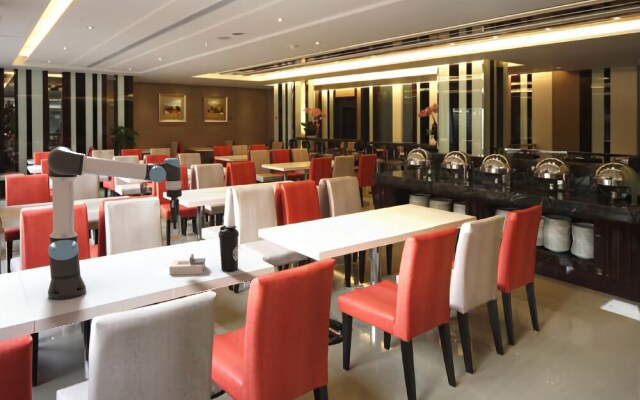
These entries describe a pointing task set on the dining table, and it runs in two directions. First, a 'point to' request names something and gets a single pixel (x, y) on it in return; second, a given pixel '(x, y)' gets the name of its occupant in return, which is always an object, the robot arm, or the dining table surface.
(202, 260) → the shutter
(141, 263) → the dining table surface
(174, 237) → the teal block
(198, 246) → the dining table surface
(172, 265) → the socket block
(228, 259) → the water bottle
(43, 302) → the dining table surface
